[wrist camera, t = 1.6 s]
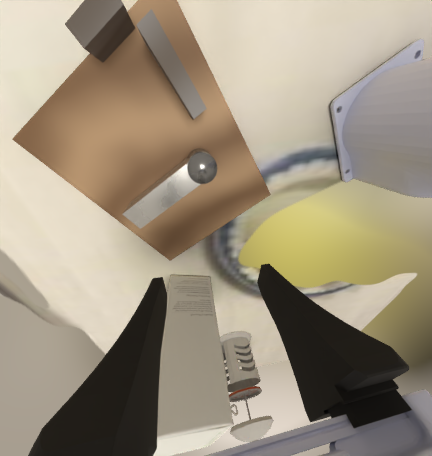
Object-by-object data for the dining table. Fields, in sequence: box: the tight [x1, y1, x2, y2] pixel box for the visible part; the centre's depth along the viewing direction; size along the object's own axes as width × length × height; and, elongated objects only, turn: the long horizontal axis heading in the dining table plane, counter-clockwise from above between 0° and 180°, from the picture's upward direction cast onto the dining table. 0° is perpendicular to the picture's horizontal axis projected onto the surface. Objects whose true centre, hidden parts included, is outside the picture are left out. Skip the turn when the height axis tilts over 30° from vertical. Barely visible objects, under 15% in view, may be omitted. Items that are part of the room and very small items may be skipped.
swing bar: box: [123, 148, 217, 229], centre depth 15 cm, size 9×2×3 cm, turn 124°
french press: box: [220, 331, 273, 442], centre depth 30 cm, size 10×12×25 cm
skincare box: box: [153, 275, 234, 456], centre depth 20 cm, size 8×7×16 cm
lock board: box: [13, 0, 271, 260], centre depth 15 cm, size 17×15×4 cm
